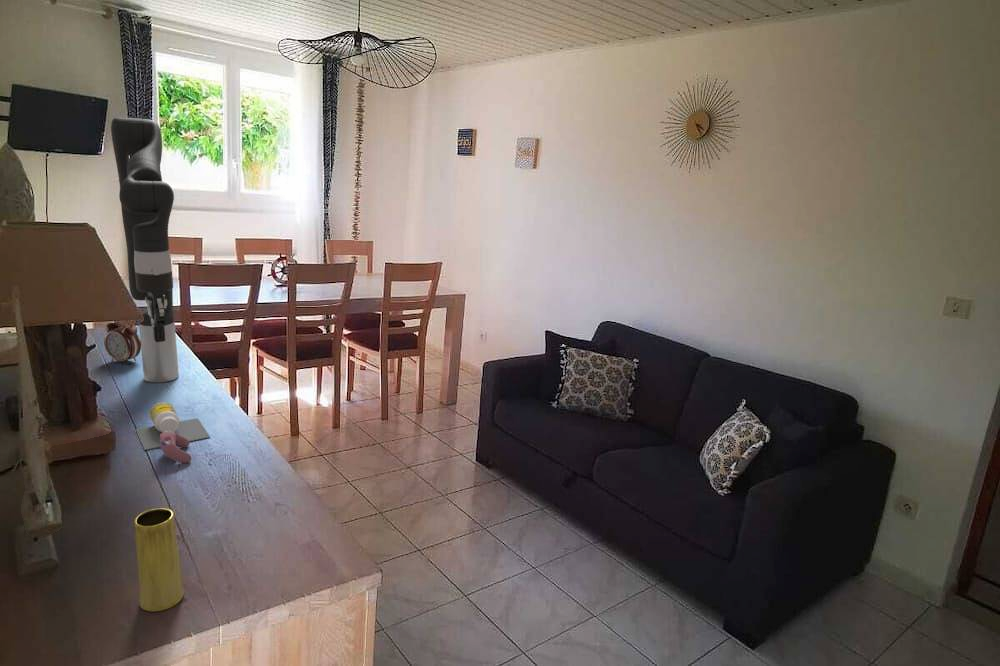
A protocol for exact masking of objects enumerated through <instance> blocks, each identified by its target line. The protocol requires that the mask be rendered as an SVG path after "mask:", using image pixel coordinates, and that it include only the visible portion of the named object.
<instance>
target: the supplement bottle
mask: <svg viewBox="0 0 1000 666" xmlns="http://www.w3.org/2000/svg"><path fill="white" fill-rule="evenodd" d="M149 412H150V413H149V415H150V419H151V421H152V423H153V426H155V427H156V429H157V430H158V431H160V432H165V431H169V429H170V431H174V432H175V431H176V430H177V428H178V424H179V421H180V419H179V415H178V414H177V412H176V410H175V408H174V407H173V405H171V404H170V403H167V402H159V403H156V404H155V405H154V406H153V407H152V408H151V409H150V411H149Z"/></svg>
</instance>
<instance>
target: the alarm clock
mask: <svg viewBox="0 0 1000 666" xmlns="http://www.w3.org/2000/svg"><path fill="white" fill-rule="evenodd" d="M105 331H106V333H105V335H104V337H103V345H104V349H105V351H106V352H107V354H108V356H110V357H111V362H114V361H117V362H126V363H127V365H128V364H129V365H130V362H129V360H131V359H133V360H134V361H135V362H136V361H137V359H136V357H137V356H139V354H140V353H141V340H140V335H138V328H137V326H136V325H134V324H133V323H130V322H129V323H126V324H124V325H123V324H121V323H120V322H119V323H109V322H108V323H106V324H105Z"/></svg>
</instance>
